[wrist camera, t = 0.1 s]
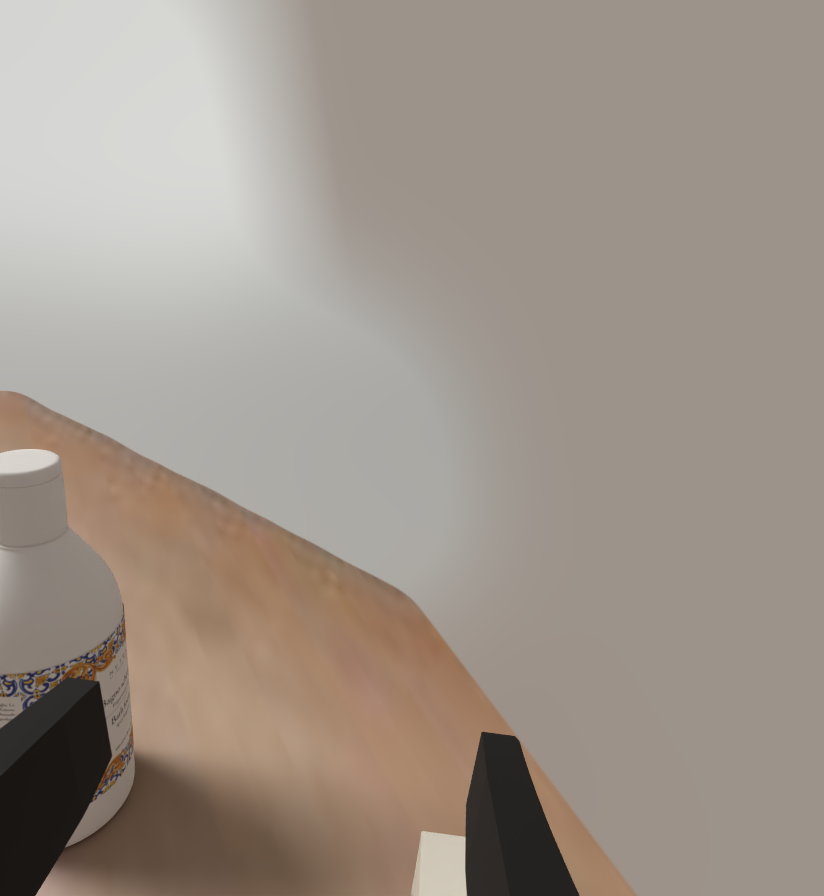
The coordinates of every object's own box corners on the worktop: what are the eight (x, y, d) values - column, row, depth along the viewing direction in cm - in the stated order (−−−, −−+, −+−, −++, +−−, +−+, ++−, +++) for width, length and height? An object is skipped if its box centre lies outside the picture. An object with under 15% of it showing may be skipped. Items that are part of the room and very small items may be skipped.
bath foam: (100, 863, 28) (60, 503, 22) (-46, 856, 28) (-134, 486, 21) (155, 746, 35) (138, 440, 28) (37, 739, 34) (-9, 426, 28)
